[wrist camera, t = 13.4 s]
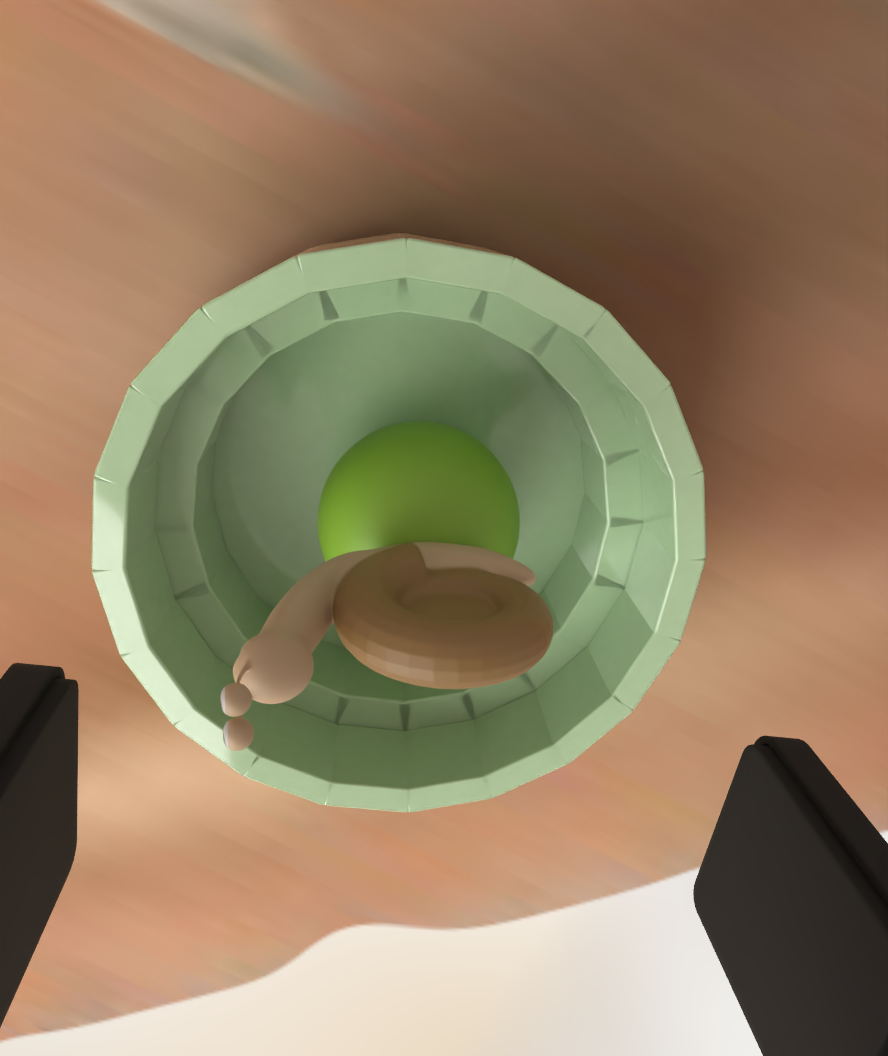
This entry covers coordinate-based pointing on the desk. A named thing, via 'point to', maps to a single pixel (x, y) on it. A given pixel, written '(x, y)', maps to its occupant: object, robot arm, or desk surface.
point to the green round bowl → (305, 464)
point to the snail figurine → (404, 576)
